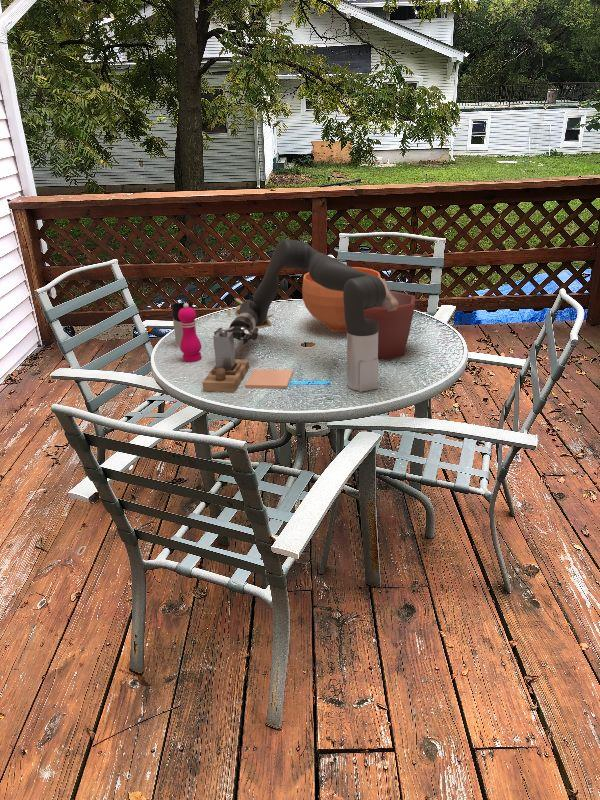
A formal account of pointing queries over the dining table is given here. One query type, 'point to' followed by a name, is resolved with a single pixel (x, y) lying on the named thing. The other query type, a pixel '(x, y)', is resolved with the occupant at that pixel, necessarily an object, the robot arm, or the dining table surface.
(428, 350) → the dining table surface
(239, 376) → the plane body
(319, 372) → the dining table surface
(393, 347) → the bucket
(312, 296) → the bowl
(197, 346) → the pepper mill
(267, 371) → the coaster
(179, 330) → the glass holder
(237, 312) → the tableware set
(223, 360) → the grey square grinder
